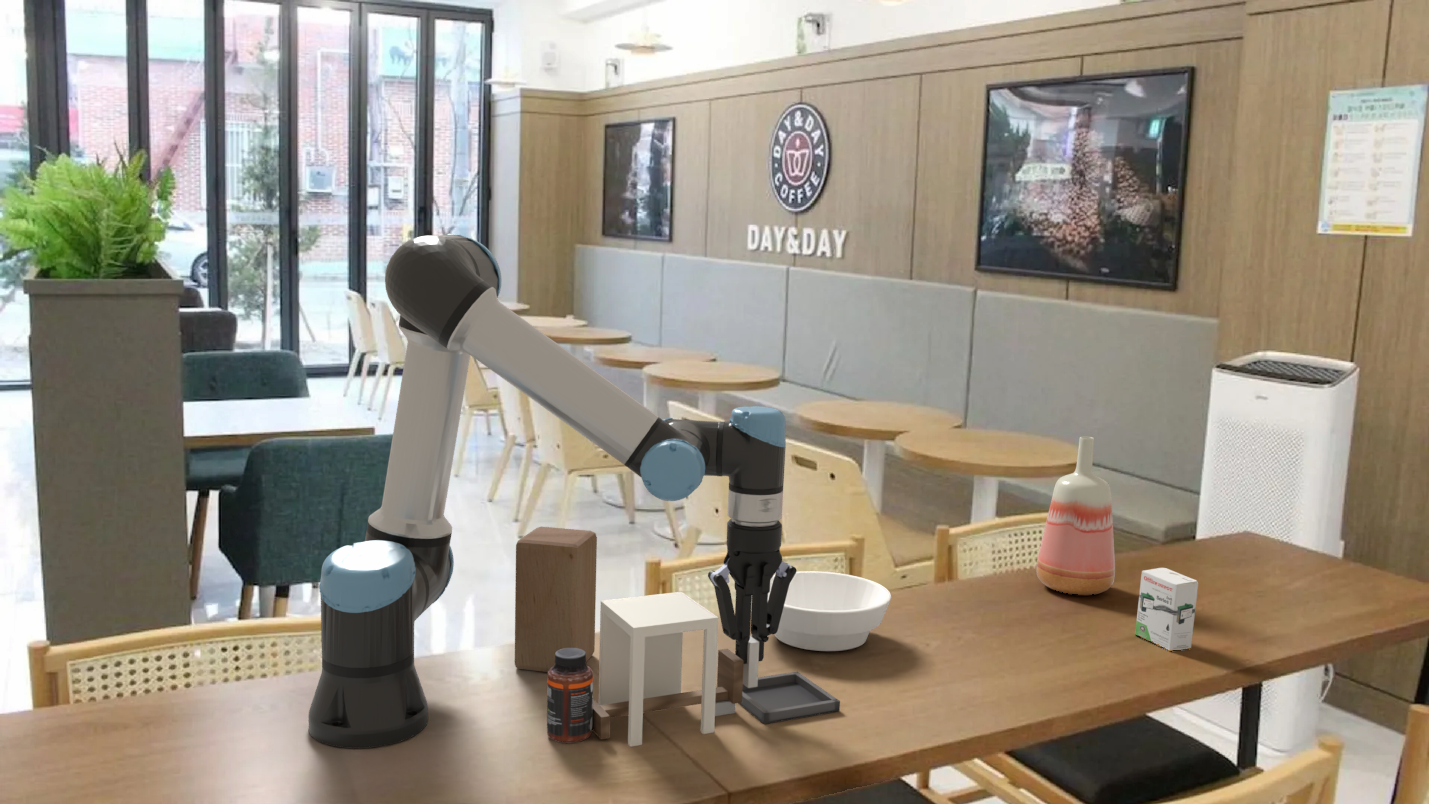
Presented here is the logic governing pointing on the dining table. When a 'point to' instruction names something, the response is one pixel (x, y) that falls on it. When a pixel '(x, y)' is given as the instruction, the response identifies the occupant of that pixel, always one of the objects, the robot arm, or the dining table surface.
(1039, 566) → the vase
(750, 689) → the grey shallow square tray
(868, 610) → the bowl
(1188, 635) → the ink box
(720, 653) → the wooden dumbbell-shaped bar
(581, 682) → the supplement bottle
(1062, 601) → the dining table surface
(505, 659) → the dining table surface
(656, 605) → the tunnel
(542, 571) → the wooden block
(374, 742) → the robot arm
